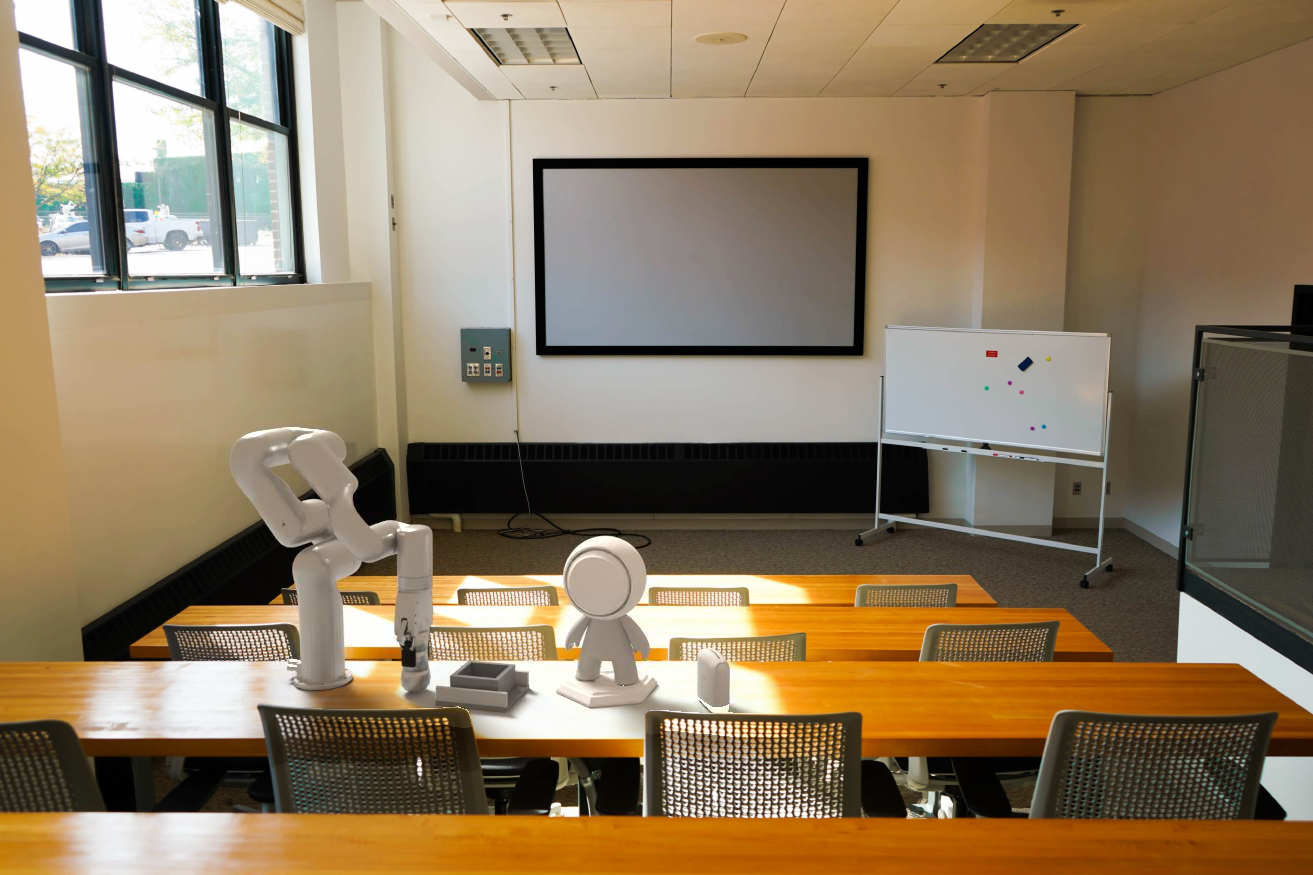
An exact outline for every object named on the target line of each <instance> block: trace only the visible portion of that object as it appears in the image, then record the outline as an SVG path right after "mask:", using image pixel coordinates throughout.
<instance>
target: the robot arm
mask: <svg viewBox="0 0 1313 875" xmlns="http://www.w3.org/2000/svg"><path fill="white" fill-rule="evenodd" d="M228 457H229V459H228V460H229V470H230V474H231V477H232V478H233V480H234V481H235V483H236V485H237V487H239V489H240V490H241V491H242V492H243V493H244V495H245V496H246V498H248V500H249V501H250V503H252V505H253V506H254V508H255V509H256V512H258V514H259V516H260V517H261V518H262V520H263V522H265V523H264V524H265V525H266V526H267V527H268V528H269V530H270V532H271V533H272V534H273V536H274V537H275V539H276V540H277V541H278V542H279V543H280V544H281V545H283V546H284V547H286V548H296V547H299V546H303V545H305V544H309V543H312V545H310V546H307V547H305V548H304V549H301V551H300V552H299V553H298V554H297V555H296V556H295V558H294V560H293V563H292V576H293V581H294V585H295V588H296V595H297V604H298V605H297V606H298V607H297V609H298V610H297V611H298V625H299V653H300V656H299V658H300V659H296V658H295V659H294V658H291V659H290V658H289V660H288V662H287V665H286V671H290V672H295V673H296V675H295V676H294V678H293V684H294V686H295V687H296V688H299V689H301V690H304V691H305V690H306V691H324V690H330V689H335V688H338V687H339V688H340V687H342V686H344V685H346V684H348V683H349V682H350V681H351V680H352V679H353V671H352V670H351V669H350V668H347V667H346V659H345V657H346V656H345V654H346V653H345V652H346V651H345V628H344V626H345V624H344V604H343V602H344V601H343V598H342V595H341V592H340V590H339V588H338V585H337V582H338V581H339V580H342V579H345V578H346V577H349V576H351V575H353V574H354V573H356V572H357V571H359V570H358V569H360V567H361V565H362V562H363V563H369V564H370V563H375V562H378V561H379V560H383V559H385V558H387V557H390V556H393V555H396V573H397V574H396V578H397V580H396V581H397V583H396V585H397V587H396V588H397V592H396V598H395V605H394V606H395V607H394V622H393V623H394V625H393V627H394V628H393V632H394V633H393V634H394V635H395V636H396V639H395V640H396V641H397V643H398V644H399V646H400V647H399V649H400V650H401V651H400V652H401V653H400V654H401V660H400V661H401V667H411V668H414V667H416V649H414V646H415V636H417V635H418V634H419V629H420V625H421V623H422V621H423V620H424V619H425V618H428V619H429V622H430V631H429V638H428V648H427V649H428V658H429V657H430V638H431V634H430V632H431V630H432V625H433V622H434V601H433V600H434V599H433V598H434V596H433V591H432V590H433V588H434V585H433V578H434V576H433V573H434V572H433V571H434V569H433V567H434V566H433V563H434V562H433V561H434V560H433V557H434V556H433V555H434V554H433V553H434V552H433V544H434V543H433V536H434V535H433V531H432V529H431V527H429V526H427V525H423V524H408V523H405V522H401V521H399V520H391V519H390V520H385V521H384V520H383V521H381V522H379V523H375V524H372V525H368V524H367V523H366V522H365V520H364V519H363V518H362V517H361V515H360V514H359V513H358V512H357V510H356V507H355V506H354V500H353V497H354V496H353V495H354V493H355V492H356V490H358V487H359V481H358V479H357V477H356V476H355V475H354V474H353V473H352V472H351V470H349V468H348V467H347V466H346V465H345V464H344V463H343V461H344V460H345V459H346V457H347V445H346V443H345V441H344V440H343V438H342V437H341V436H340V435H339V434H337V433H335V432H334V431H331V430H322V429H311V428H301V427H290V426H289V427H288V426H287V427H286V426H285V427H279V428H278V427H277V428H272V429H271V428H270V429H265V430H258V431H252V432H250V433H247V434H244V435H243V436H241V437H239V438H238V439H237V440H236V441H235V442H234V444H233V445H232V447H231V450H230V453H229V456H228ZM288 464H289V465H290V464H291V465H292V467H293V468H294V469H295V470H296V472H298V474H299V475H300V476H301V477H302V479H304V481H305V482H306V483H307V484H308V485H309V486H310V488H311V489H312V490H313V491H314V492H315V493H316V494H317V496H318V497H320V499H316V498H312V499H306V500H302V501H301V500H300V499H299V498H298V497H297V495H296V494H294V491H293V490H292V489H291V487H290V486H289V484H288V483H287V482H286V481H285V480H284V478H281V477H280V476H279V475H277V474H275V473H274V472H273V471H272V470H271V468H275V467H278V466H284V465H288ZM407 629H408V630H407ZM407 631H409V632H411V635H406V632H407ZM406 638H411V642H409V641H408V640H406Z"/></svg>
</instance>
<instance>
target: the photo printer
mask: <svg viewBox="0 0 1313 875" xmlns="http://www.w3.org/2000/svg"><path fill="white" fill-rule="evenodd" d="M696 661H697V662H696V664H697V665H696V666H697V668H696V669H697V672H696V675H697V677H696V678H697V681H696V682H697V683H696V686H697V689H696V690H697V692H696V693H697V696H698V697H699V698H700V699H702V700H703V701H704V702H706V703H707V704H709V705H710V706H712V707H723V706H726V705H728V704H731V703H730V700H731V699H730V695H731V692H730V691H731V690H730V688H731V687H730V685H731V684H730V682H731V680H730V678H731V676H730V675H731V674H730V673H731V668H730V667H731V666H730V664H729V662H728V660H727V659H726V658H725V656H724V655H723V654H722V653H721V652H719V651H718V650H717V649H715V648H713V647H707V648H702V649H701V650H700V651H699V652H698V654H697V660H696ZM697 696H696V697H697ZM698 697H697V698H698Z"/></svg>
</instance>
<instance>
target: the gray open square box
mask: <svg viewBox="0 0 1313 875" xmlns="http://www.w3.org/2000/svg"><path fill="white" fill-rule="evenodd" d="M529 689H530V672H529V670H519V669H518V670H517V669H516V664H512V663H504V662H493V661H492V662H490V661H480V660H470V659H469V660H468V661H466V662H465V663H464V664H462V665H461V666H460V667H459V668H458V669H457V670H455V671H454V672H453V673H452V674H450V676H449V686H445V685H436V686H435V706H437V707H438V706H439V707H448V706H459V707H465V708H464V709H468V710H469V709H470V710H479V711H489V712H500V713H507V712H508V711H509V710H510V709H511V708H512V707H513V706H514V705H515V703H517V702H518V700H520V698H522V696H523V695H525V693H526V692H527V691H528V690H529Z"/></svg>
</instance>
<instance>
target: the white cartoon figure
mask: <svg viewBox="0 0 1313 875" xmlns="http://www.w3.org/2000/svg"><path fill="white" fill-rule="evenodd" d="M647 575H648V574H647V568H646V564H645V562H644V560H643V558H642V556H641V554H640V553H639V552H638V550H637V549H636V548H635V547H634V546H633V545H632V544H631V543H629V542H628V541H626V540H624V539H622V538H619V537H616V536H611V535H600V536H595V537H591V538H589V539H586V540H585V541H583V542H582V543H580V544H579V545H577V546H576V547H575V548H574V549H573V551H572V552H571V553H570V554H569V556H568V557H567V559H566V562H565V565H564V567H563V573H562V584H563V588H564V592H565V594H566V597H567V599H568V601H569V603H570V604H571V605H572V607H574V609H576V610H577V611H578V612H579V613H580V614H582V615H581V616H580V617H579V618H578V619H577V620H576V621H575V623H573V625H572V626H571V627H570V629H569V631H568V632H567V635H566V637H565V642H564V648H565V650H566V651H567V652H569V651H570V650H571V649H573V648H574V647H576V648H579V646H580V643H581V641H582V638H583V636H584V639H583V642H582V644H581V648H580V652H579V656H578V662H577V667H576V670H575V671H574V672H573V673H571V674H570V675H569V676H568V677H567V678H566V679H565V680H564V681H563V682H561V683H560V685H559V686H558V687H557V688H556V692H555V693H556V694H559V695H560V696H562V695H563V697H564V698H567V699H570V700H571V701H574V702H575V703H578V704H581V705H583V706H585V707H587V708H589V709H591V708H600V707H611V706H613V707H614V706H624V705H637V704H642V703H643V702H644V701H646V699H647V698H648V697H649V695H650V694H651V692H652V691H653V690H654V689H655V687H657V685H658V681H657V680H656V679H655V677H653V676H651V675H648V674H646V673H643V672H642V671H641V672H640V670H638V668H637V662H636V658H635V654H638V653H639V654H640V655H641V659H643V660H646V659H647V658H648V657H649V656H650V654H651V646H650V643H649V642H650V641H649V640H648V637H647V636H646V634H645V633H644V631H643V630H642V629H641V627H640V626H639V624H638V623H637V622H636V621H635V620H634V619H633V618H632V617H631V616H630V615H628V613H630V612H631V611H632V610H633V609H634V608H635V607H637V605H638V604H639V602H640V601H641V600H642V597H643V595H644V593H645V590H646V586H647V577H648V576H647ZM603 661H611V665H610V664H609V665H602V662H603ZM623 685H624V686H623Z"/></svg>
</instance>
